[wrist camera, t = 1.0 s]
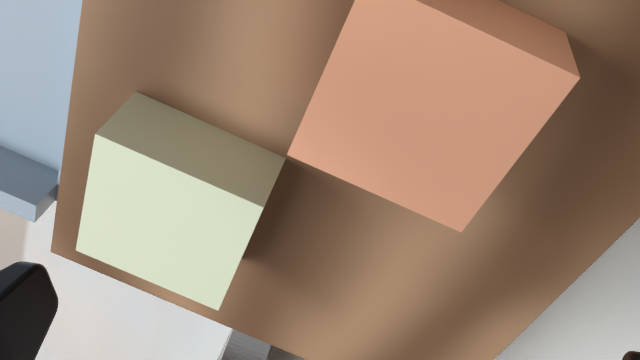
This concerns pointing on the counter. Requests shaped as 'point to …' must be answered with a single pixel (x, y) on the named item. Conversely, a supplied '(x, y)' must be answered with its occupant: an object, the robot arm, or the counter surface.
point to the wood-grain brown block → (359, 204)
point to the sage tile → (173, 198)
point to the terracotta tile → (434, 101)
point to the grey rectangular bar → (243, 347)
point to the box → (34, 99)
